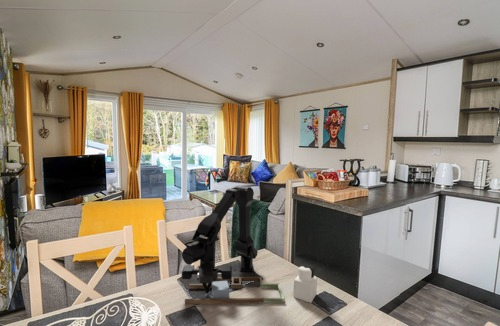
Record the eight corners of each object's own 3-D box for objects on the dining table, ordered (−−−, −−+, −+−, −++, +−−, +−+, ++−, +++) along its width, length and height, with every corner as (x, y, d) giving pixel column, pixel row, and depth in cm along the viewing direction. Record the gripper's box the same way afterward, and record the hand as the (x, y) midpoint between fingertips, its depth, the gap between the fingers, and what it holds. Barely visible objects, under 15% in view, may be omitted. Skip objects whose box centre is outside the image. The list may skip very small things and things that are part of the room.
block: (211, 291, 103) (212, 281, 103) (226, 290, 104) (227, 280, 104) (213, 300, 97) (213, 290, 97) (228, 299, 99) (229, 289, 98)
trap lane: (191, 281, 110) (191, 277, 110) (277, 280, 113) (277, 276, 113) (184, 304, 95) (184, 300, 95) (284, 302, 97) (284, 298, 97)
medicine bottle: (299, 288, 107) (300, 260, 106) (316, 294, 103) (318, 265, 102) (293, 297, 101) (294, 267, 100) (311, 303, 97) (312, 273, 96)
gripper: (178, 264, 90) (178, 306, 92) (232, 264, 92) (230, 306, 93) (184, 250, 102) (184, 288, 103) (232, 250, 103) (231, 288, 104)
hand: (207, 292), depth 101 cm, fingers closed
